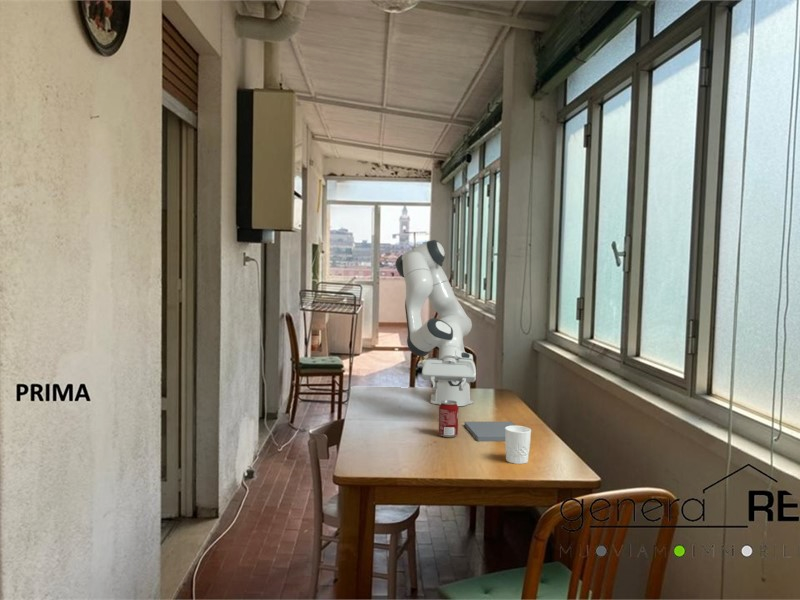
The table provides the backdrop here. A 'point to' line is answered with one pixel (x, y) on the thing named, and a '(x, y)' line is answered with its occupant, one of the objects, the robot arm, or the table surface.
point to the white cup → (517, 444)
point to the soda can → (448, 419)
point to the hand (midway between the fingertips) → (447, 389)
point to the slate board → (488, 430)
